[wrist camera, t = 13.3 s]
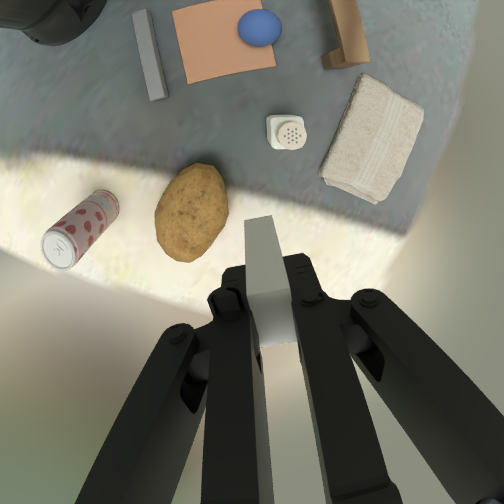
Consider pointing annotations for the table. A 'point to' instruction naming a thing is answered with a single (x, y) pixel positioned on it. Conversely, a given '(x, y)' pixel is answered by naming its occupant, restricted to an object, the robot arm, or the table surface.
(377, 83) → the washcloth
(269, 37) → the ball
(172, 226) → the potato
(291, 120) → the salt shaker
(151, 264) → the table surface
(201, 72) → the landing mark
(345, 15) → the bridge
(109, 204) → the beverage can
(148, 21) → the grey long bar
